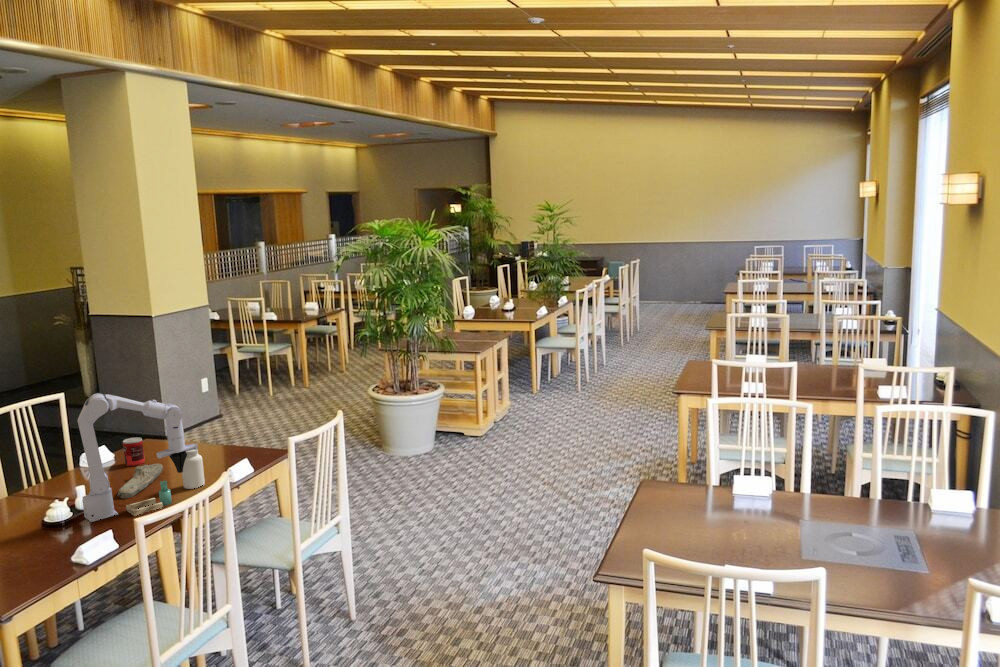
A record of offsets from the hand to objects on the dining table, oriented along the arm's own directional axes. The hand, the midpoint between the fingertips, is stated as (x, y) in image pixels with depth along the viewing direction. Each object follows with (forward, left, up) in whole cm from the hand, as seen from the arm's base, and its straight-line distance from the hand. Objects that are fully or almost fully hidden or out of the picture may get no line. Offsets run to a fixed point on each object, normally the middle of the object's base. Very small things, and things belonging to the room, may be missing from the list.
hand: (180, 472), depth 292 cm
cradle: (-13, 0, -10) cm, 17 cm away
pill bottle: (+9, +11, -11) cm, 17 cm away
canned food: (+3, +62, -11) cm, 63 cm away
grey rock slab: (-5, +32, -11) cm, 34 cm away
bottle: (-6, 0, -10) cm, 12 cm away
